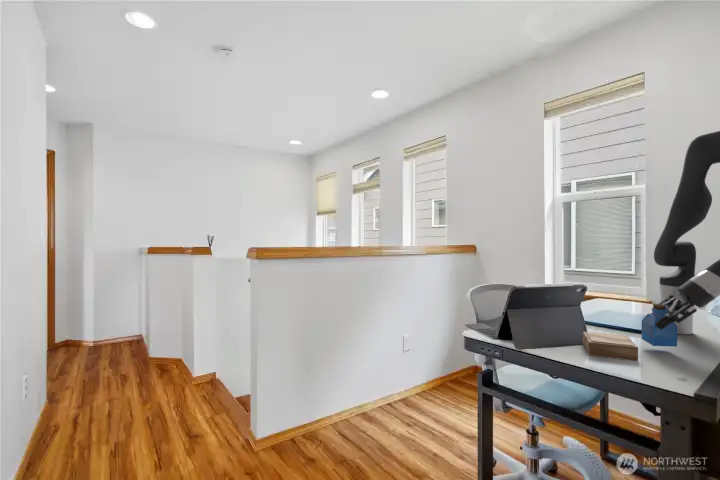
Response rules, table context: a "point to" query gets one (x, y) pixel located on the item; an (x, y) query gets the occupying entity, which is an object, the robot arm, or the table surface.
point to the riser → (610, 346)
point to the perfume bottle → (655, 334)
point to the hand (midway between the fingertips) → (653, 323)
